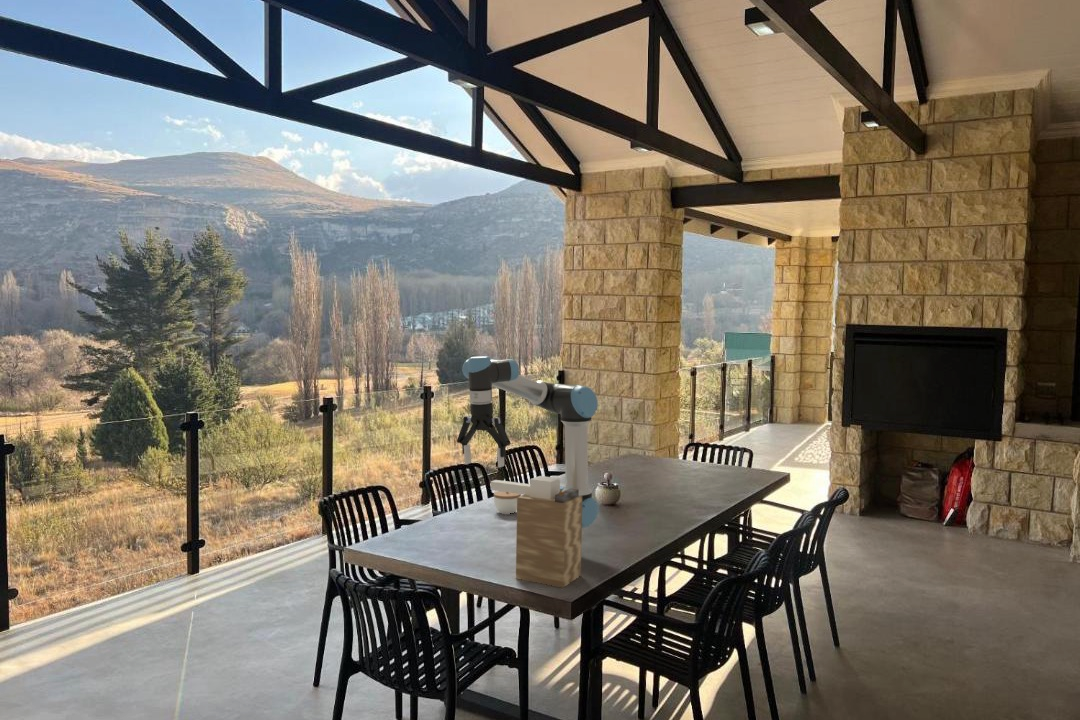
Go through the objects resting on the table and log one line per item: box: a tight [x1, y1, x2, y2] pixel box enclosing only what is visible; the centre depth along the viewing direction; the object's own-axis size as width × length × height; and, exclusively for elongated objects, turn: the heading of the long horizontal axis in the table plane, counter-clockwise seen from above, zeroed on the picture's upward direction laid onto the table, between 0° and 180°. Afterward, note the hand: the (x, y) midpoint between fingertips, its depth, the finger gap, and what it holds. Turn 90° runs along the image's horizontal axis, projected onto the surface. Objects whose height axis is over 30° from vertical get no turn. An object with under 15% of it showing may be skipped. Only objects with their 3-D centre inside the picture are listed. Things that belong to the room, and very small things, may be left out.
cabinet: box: [515, 488, 583, 589], centre depth 251 cm, size 14×18×31 cm
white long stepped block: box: [490, 475, 561, 499], centre depth 255 cm, size 7×25×6 cm, turn 61°
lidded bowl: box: [493, 491, 522, 515], centre depth 341 cm, size 13×13×11 cm
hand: (484, 465), depth 245 cm, fingers open, 13 cm apart
